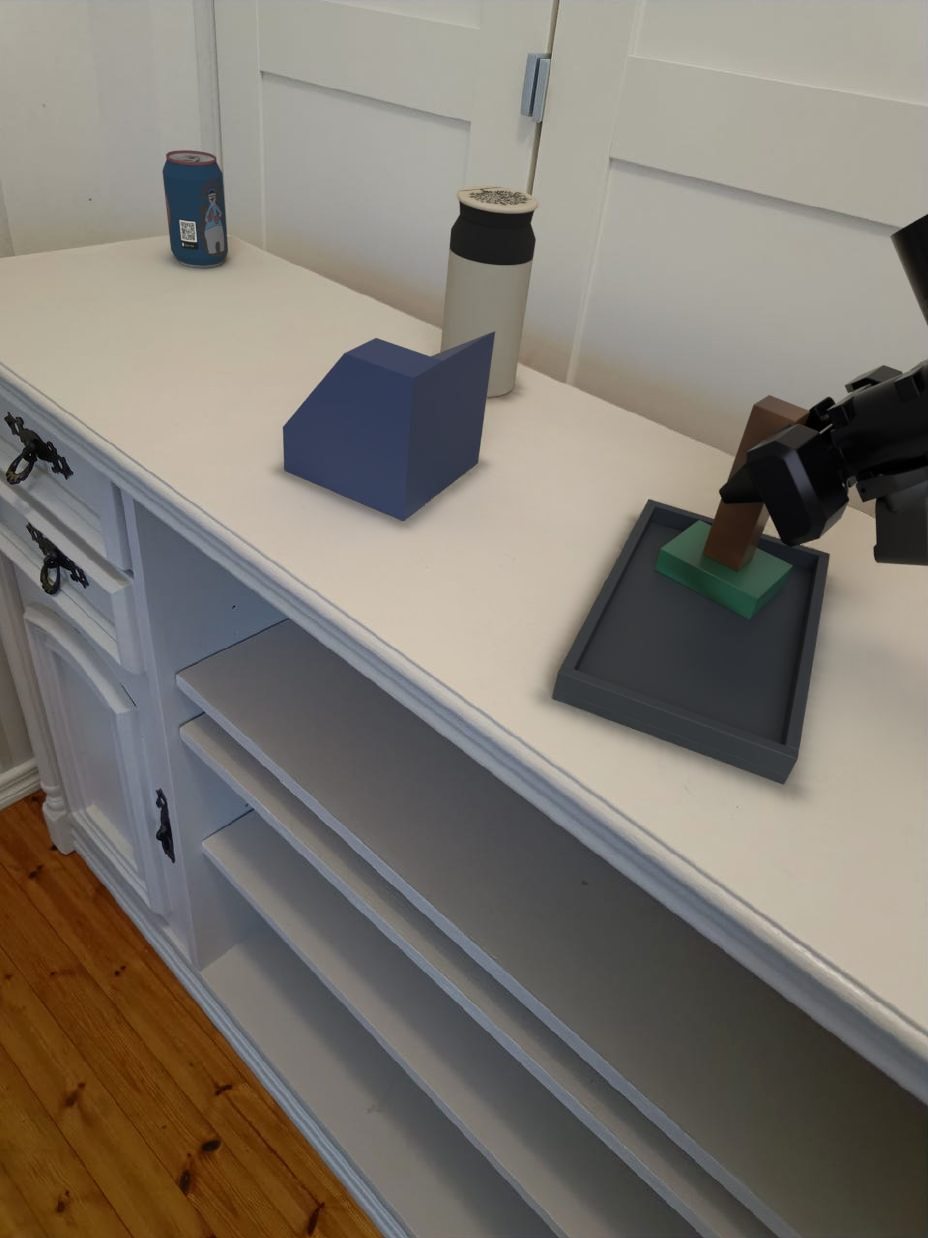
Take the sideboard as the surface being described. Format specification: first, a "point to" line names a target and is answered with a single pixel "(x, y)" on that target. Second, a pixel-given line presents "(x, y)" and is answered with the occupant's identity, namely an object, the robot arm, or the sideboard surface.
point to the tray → (699, 654)
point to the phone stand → (392, 424)
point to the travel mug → (490, 276)
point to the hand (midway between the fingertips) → (730, 490)
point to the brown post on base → (734, 533)
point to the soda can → (195, 208)
